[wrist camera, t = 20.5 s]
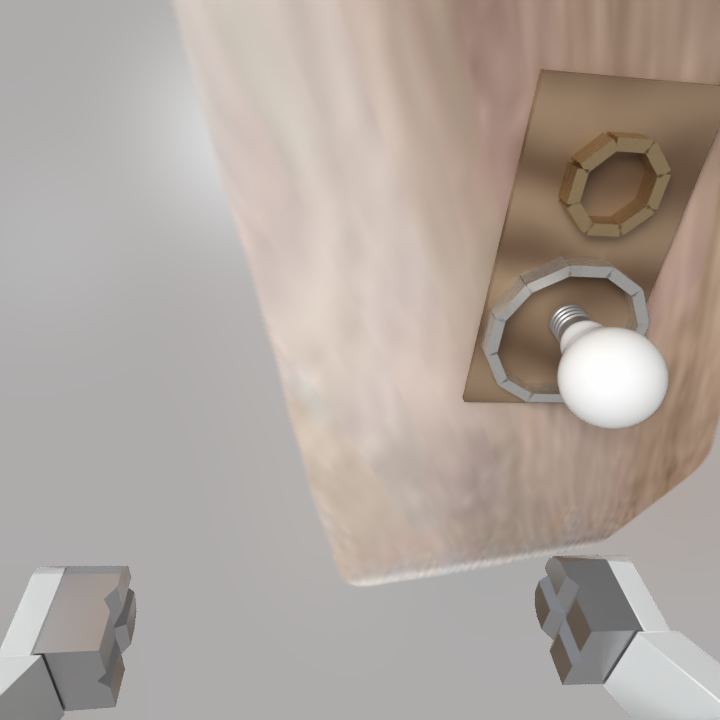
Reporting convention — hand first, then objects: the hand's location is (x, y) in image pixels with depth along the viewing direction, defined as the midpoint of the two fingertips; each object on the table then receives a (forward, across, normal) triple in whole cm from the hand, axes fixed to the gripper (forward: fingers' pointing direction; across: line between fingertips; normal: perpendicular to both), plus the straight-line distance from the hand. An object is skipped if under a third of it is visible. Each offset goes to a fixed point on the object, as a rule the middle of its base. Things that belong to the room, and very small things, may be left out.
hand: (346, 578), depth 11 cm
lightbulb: (+29, -19, +10) cm, 36 cm away
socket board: (+29, -19, +6) cm, 35 cm away
